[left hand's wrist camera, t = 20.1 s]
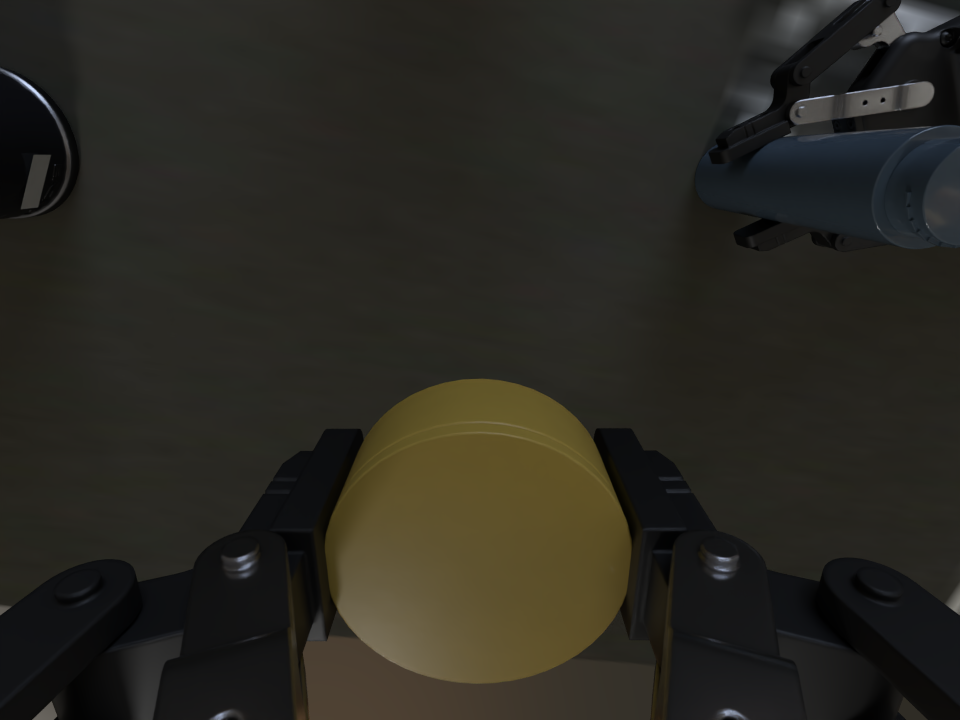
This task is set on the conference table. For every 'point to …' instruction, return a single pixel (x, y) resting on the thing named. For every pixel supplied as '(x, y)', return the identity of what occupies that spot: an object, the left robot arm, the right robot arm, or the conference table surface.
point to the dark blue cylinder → (849, 184)
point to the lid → (478, 535)
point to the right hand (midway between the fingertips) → (729, 200)
